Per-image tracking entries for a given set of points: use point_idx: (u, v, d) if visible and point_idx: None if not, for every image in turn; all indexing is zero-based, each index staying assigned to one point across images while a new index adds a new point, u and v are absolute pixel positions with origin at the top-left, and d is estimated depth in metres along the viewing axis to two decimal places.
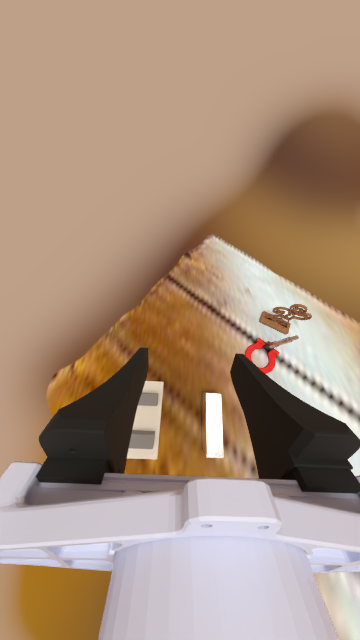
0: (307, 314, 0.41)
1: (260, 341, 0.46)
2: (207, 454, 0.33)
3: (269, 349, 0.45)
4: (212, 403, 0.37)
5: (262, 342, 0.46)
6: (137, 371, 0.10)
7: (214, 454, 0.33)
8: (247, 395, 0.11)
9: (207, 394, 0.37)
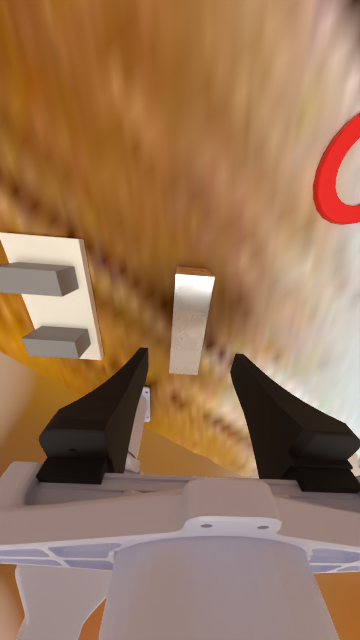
0: None
1: None
2: (170, 369, 0.20)
3: None
4: (188, 296, 0.15)
5: None
6: (137, 371, 0.10)
7: (182, 370, 0.20)
8: (247, 395, 0.11)
9: (179, 276, 0.14)
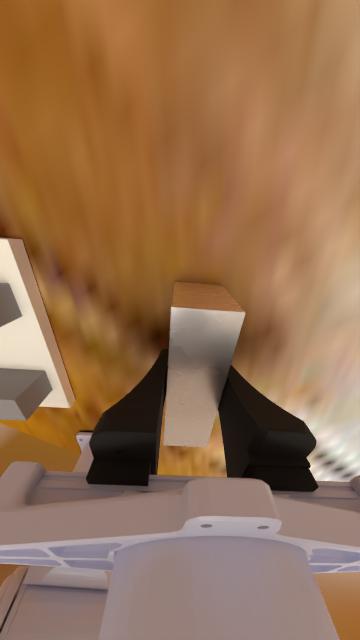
0: None
1: None
2: (166, 441, 0.13)
3: None
4: (195, 344, 0.08)
5: None
6: (165, 373, 0.10)
7: (184, 442, 0.13)
8: None
9: (177, 311, 0.08)
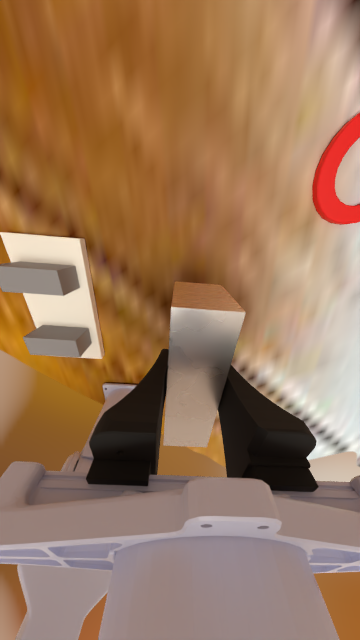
0: None
1: None
2: (165, 441, 0.13)
3: None
4: (195, 344, 0.08)
5: None
6: (165, 373, 0.10)
7: (184, 442, 0.13)
8: None
9: (177, 311, 0.08)
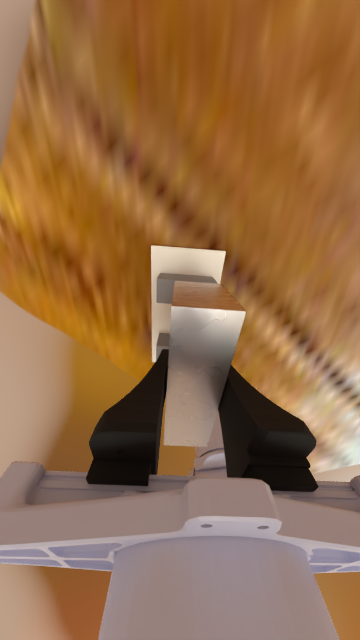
0: None
1: None
2: (166, 440, 0.13)
3: None
4: (195, 344, 0.08)
5: None
6: (165, 373, 0.10)
7: (184, 442, 0.13)
8: None
9: (177, 310, 0.07)
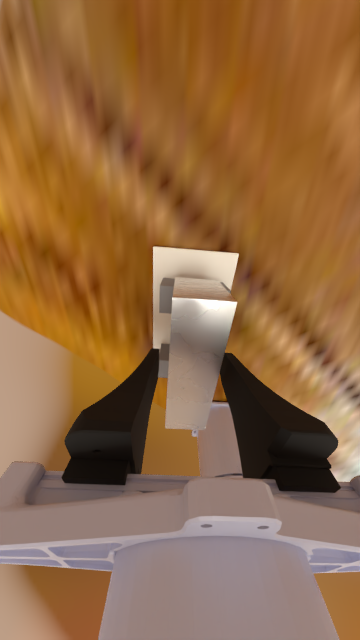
0: None
1: None
2: (167, 424, 0.14)
3: None
4: (193, 331, 0.09)
5: None
6: (151, 372, 0.10)
7: (184, 425, 0.14)
8: (234, 394, 0.11)
9: (177, 301, 0.09)
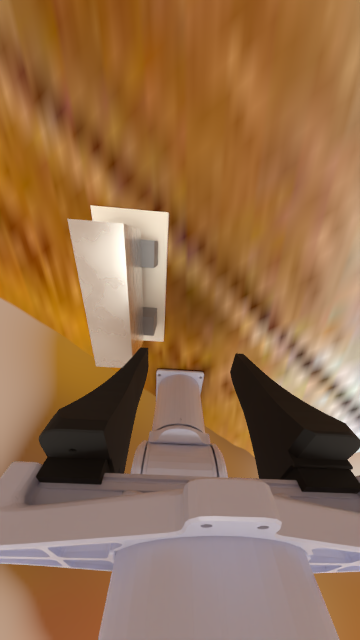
0: None
1: None
2: (97, 362, 0.15)
3: None
4: (94, 255, 0.11)
5: None
6: (137, 371, 0.10)
7: (112, 362, 0.15)
8: (247, 395, 0.11)
9: (73, 223, 0.10)
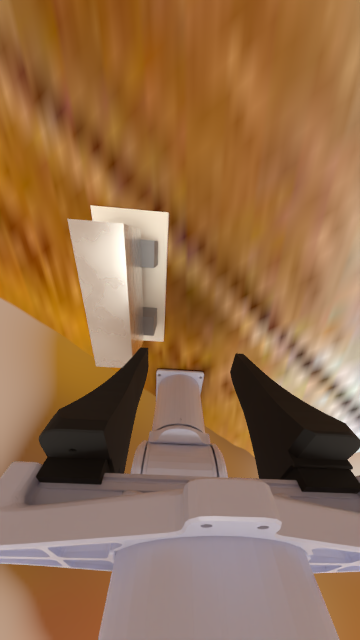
0: None
1: None
2: (97, 362, 0.15)
3: None
4: (94, 255, 0.11)
5: None
6: (137, 371, 0.10)
7: (112, 362, 0.15)
8: (247, 395, 0.11)
9: (73, 223, 0.10)
